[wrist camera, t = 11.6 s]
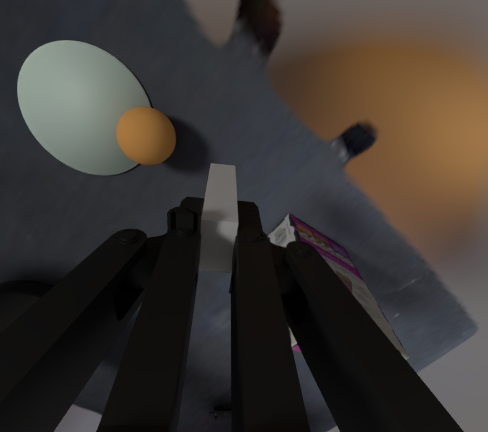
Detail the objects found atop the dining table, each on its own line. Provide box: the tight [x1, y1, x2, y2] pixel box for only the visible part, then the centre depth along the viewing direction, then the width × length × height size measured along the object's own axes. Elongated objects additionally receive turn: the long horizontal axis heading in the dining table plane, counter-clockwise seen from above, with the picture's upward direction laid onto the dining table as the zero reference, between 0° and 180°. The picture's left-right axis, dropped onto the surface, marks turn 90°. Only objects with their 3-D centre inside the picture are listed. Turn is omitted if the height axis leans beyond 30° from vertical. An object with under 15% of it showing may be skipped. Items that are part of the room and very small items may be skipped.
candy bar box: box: [268, 214, 410, 360], centre depth 30 cm, size 11×5×16 cm, turn 55°
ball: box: [116, 107, 176, 165], centre depth 26 cm, size 6×6×6 cm
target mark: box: [17, 40, 151, 175], centre depth 27 cm, size 13×13×1 cm
